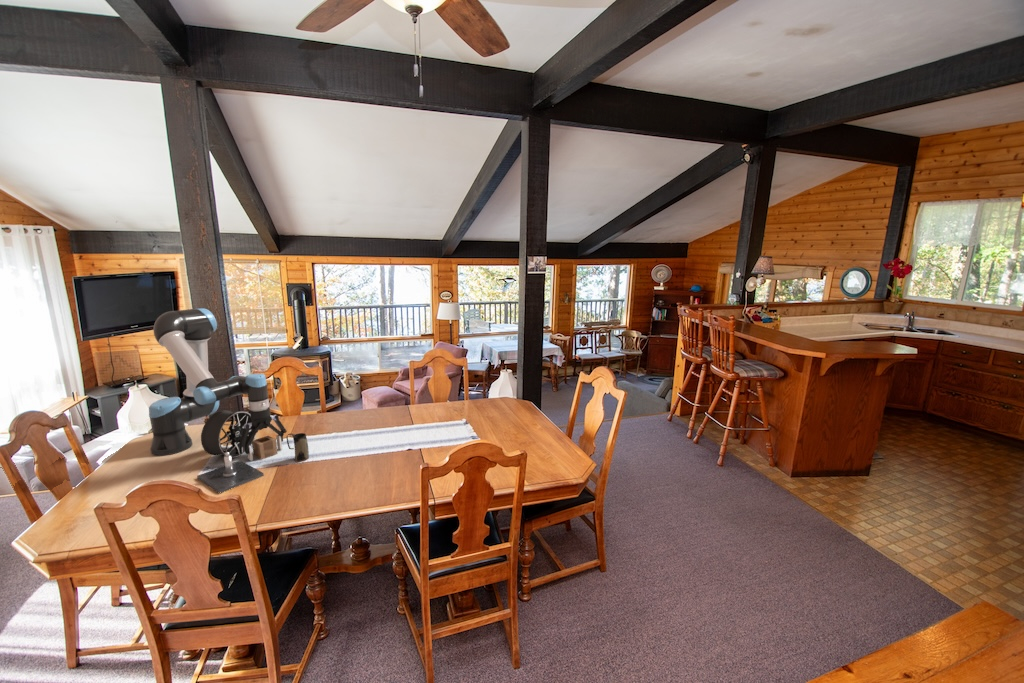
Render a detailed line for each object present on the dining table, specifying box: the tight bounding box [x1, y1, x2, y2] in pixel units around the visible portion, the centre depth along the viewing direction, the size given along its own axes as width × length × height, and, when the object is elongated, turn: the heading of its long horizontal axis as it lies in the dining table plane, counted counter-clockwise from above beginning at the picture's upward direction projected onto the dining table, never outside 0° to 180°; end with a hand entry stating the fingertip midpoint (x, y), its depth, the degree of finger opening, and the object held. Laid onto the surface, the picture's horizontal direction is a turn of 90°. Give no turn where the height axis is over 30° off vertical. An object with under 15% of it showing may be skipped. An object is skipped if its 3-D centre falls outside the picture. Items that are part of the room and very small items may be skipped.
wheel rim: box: [200, 410, 257, 458], centre depth 189 cm, size 20×9×20 cm, turn 168°
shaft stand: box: [196, 452, 265, 494], centre depth 169 cm, size 20×16×11 cm
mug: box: [286, 432, 310, 463], centre depth 184 cm, size 8×6×12 cm
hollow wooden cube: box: [251, 435, 278, 461], centre depth 189 cm, size 7×7×7 cm
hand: (265, 454), depth 190 cm, fingers open, 12 cm apart
